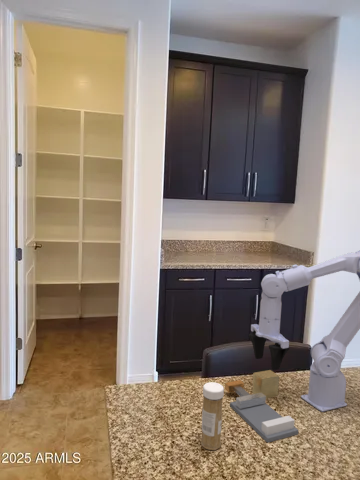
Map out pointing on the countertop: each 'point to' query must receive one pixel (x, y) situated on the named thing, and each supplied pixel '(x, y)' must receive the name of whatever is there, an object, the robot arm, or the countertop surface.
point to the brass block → (265, 383)
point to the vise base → (261, 417)
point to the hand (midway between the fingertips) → (266, 363)
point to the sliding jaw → (244, 395)
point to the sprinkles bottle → (212, 415)
